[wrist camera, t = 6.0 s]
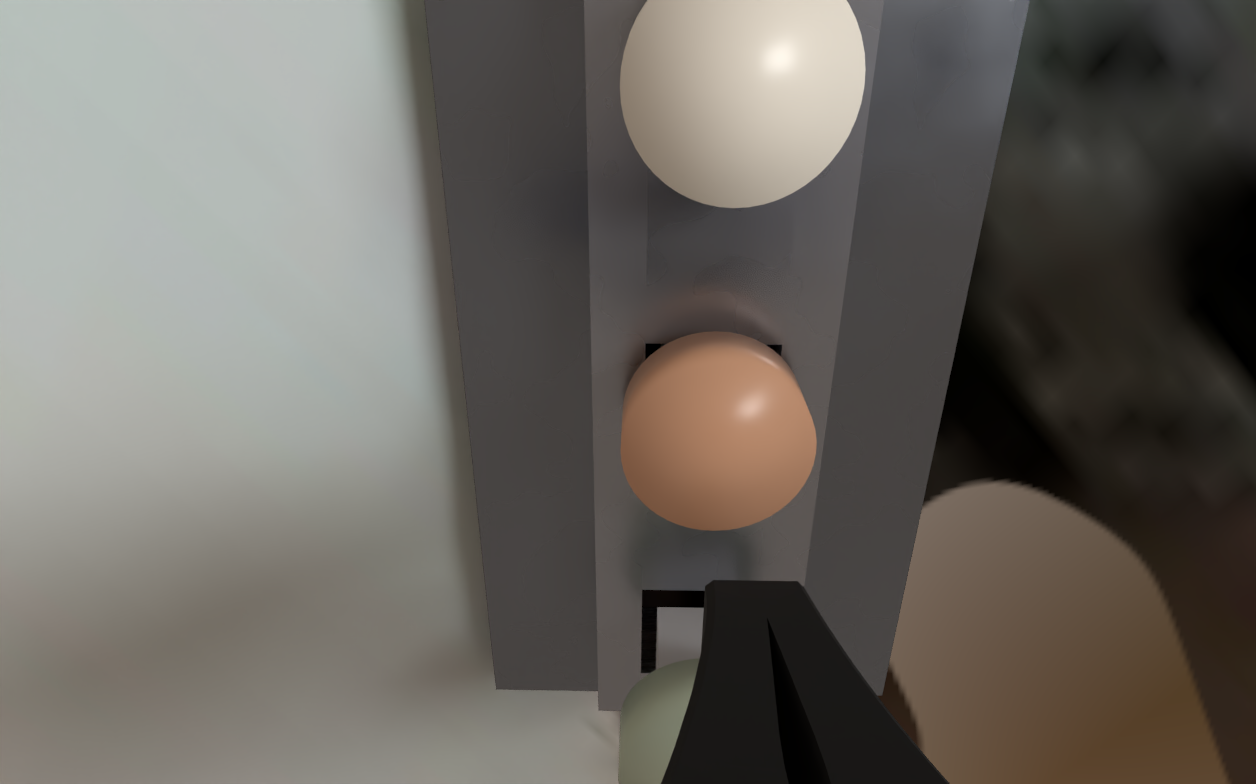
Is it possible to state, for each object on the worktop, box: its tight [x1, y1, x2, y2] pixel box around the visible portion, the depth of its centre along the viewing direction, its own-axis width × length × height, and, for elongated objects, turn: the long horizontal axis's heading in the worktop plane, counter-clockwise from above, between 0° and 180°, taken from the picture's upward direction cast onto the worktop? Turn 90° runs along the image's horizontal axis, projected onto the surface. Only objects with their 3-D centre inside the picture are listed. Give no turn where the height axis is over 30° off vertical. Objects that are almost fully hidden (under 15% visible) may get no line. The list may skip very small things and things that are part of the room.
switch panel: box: [425, 0, 1030, 711], centre depth 19 cm, size 12×22×3 cm, turn 0°
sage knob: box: [618, 607, 704, 784], centre depth 19 cm, size 4×4×4 cm
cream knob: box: [620, 0, 866, 208], centre depth 15 cm, size 4×4×4 cm
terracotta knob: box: [621, 331, 817, 531], centre depth 18 cm, size 4×4×4 cm
